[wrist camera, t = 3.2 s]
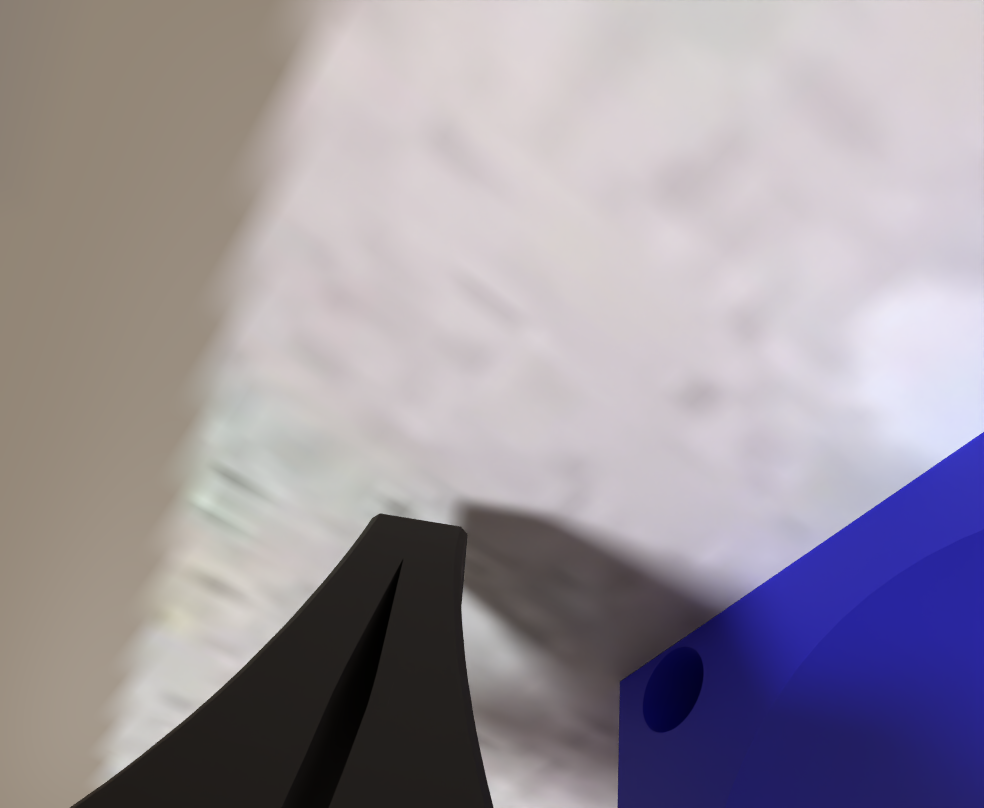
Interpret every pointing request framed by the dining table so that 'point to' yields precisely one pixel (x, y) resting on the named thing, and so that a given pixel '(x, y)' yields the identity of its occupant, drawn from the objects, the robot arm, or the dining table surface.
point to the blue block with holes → (831, 672)
